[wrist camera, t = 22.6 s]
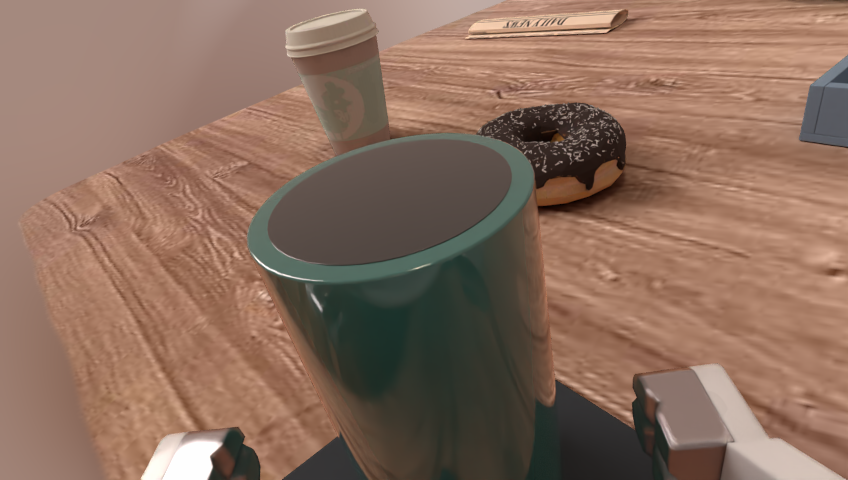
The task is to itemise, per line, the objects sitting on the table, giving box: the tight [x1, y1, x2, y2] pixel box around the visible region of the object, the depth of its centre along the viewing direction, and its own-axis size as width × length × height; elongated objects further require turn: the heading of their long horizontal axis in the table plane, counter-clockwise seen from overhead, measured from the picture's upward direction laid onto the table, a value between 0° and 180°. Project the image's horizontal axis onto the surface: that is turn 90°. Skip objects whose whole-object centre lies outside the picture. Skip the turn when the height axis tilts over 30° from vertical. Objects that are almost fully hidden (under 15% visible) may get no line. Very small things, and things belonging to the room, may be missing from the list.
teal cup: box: [247, 133, 565, 480], centre depth 15 cm, size 7×7×12 cm
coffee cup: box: [285, 9, 391, 156], centre depth 47 cm, size 8×8×12 cm
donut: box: [476, 102, 626, 206], centre depth 36 cm, size 11×12×4 cm
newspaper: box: [465, 9, 628, 39], centre depth 76 cm, size 24×7×2 cm, turn 49°
